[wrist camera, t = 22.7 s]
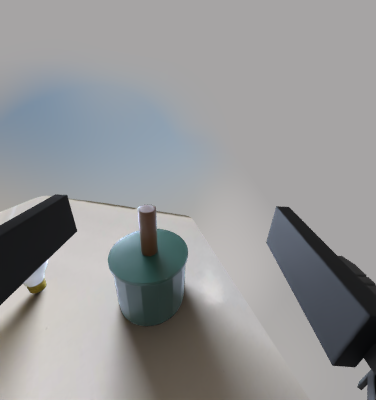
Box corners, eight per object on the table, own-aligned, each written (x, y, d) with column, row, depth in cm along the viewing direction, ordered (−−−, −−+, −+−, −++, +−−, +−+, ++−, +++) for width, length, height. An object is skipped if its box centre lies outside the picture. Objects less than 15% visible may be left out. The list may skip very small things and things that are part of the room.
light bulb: (59, 274, 40) (45, 238, 35) (54, 297, 35) (38, 258, 31) (25, 284, 37) (6, 245, 33) (15, 309, 32) (-8, 268, 28)
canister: (189, 275, 41) (191, 238, 36) (173, 334, 30) (173, 291, 25) (138, 264, 43) (134, 228, 39) (105, 316, 32) (94, 273, 28)
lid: (194, 239, 37) (197, 196, 33) (175, 298, 25) (177, 243, 21) (133, 228, 39) (129, 187, 35) (90, 278, 27) (75, 224, 23)
